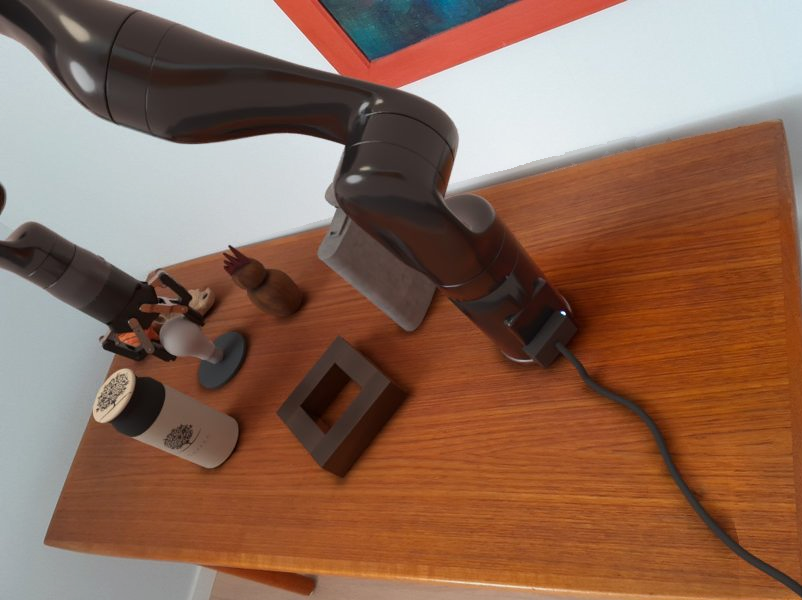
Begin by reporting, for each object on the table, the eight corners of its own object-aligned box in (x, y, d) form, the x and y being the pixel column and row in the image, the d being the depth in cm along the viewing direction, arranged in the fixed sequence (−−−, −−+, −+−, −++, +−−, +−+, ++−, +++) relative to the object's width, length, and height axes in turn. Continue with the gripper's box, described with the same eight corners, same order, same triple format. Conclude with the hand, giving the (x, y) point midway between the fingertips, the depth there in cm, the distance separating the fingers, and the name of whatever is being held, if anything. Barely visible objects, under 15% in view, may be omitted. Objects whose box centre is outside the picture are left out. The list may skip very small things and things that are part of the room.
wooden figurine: (311, 285, 104) (240, 229, 93) (304, 316, 101) (230, 263, 90) (280, 294, 107) (208, 242, 96) (272, 325, 104) (197, 274, 93)
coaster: (255, 349, 104) (252, 348, 103) (214, 400, 103) (211, 398, 103) (232, 323, 110) (229, 322, 110) (193, 370, 110) (190, 369, 109)
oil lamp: (224, 287, 117) (202, 272, 113) (217, 322, 113) (194, 307, 109) (174, 310, 123) (151, 296, 119) (165, 344, 118) (141, 331, 115)
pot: (125, 353, 124) (99, 330, 119) (161, 327, 125) (136, 303, 121) (134, 374, 118) (107, 350, 113) (171, 346, 119) (146, 322, 115)
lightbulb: (240, 342, 106) (185, 308, 98) (225, 377, 103) (167, 345, 95) (217, 341, 109) (162, 308, 101) (202, 375, 107) (144, 344, 99)
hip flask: (430, 233, 95) (343, 138, 80) (454, 230, 92) (368, 131, 78) (400, 331, 89) (298, 248, 74) (424, 330, 86) (325, 244, 72)
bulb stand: (409, 394, 83) (390, 381, 80) (342, 478, 82) (320, 468, 79) (356, 348, 92) (338, 334, 89) (295, 423, 91) (275, 412, 88)
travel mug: (198, 436, 101) (91, 389, 88) (236, 407, 99) (133, 354, 86) (203, 479, 96) (90, 435, 82) (243, 449, 94) (134, 399, 81)
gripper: (59, 336, 86) (165, 388, 99) (130, 251, 87) (227, 313, 99) (49, 313, 92) (151, 365, 104) (116, 233, 92) (210, 294, 104)
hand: (188, 339), depth 101 cm, fingers closed on lightbulb, 6 cm apart
